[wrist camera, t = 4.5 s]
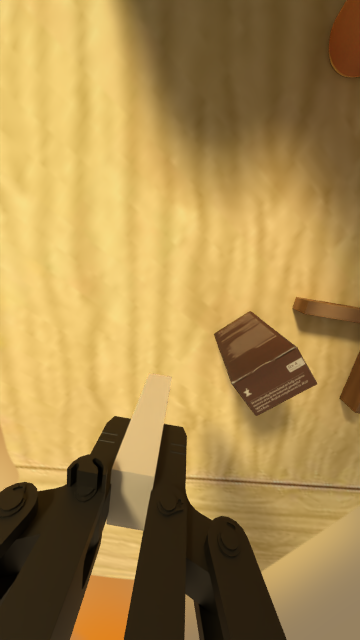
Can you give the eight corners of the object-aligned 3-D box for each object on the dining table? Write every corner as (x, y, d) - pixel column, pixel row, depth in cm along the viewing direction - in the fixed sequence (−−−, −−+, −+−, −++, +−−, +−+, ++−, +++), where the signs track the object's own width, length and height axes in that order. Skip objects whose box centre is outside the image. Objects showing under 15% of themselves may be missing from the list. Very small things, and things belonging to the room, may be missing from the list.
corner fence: (268, 386, 30) (276, 399, 28) (297, 291, 27) (310, 294, 24) (349, 400, 30) (366, 414, 27) (391, 306, 27) (415, 312, 24)
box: (230, 358, 30) (255, 419, 18) (213, 333, 29) (227, 380, 17) (268, 335, 28) (321, 386, 17) (251, 309, 28) (295, 342, 16)
